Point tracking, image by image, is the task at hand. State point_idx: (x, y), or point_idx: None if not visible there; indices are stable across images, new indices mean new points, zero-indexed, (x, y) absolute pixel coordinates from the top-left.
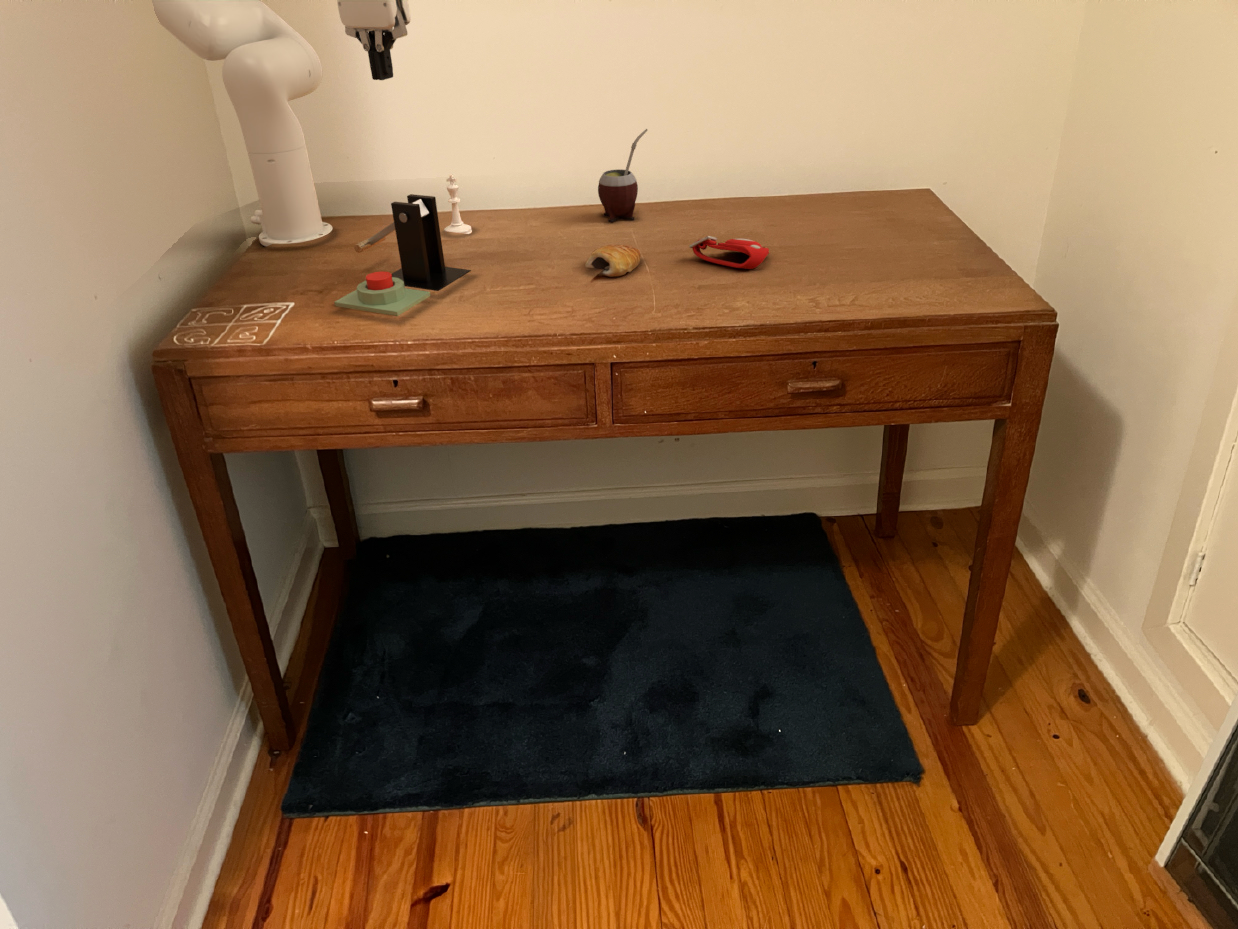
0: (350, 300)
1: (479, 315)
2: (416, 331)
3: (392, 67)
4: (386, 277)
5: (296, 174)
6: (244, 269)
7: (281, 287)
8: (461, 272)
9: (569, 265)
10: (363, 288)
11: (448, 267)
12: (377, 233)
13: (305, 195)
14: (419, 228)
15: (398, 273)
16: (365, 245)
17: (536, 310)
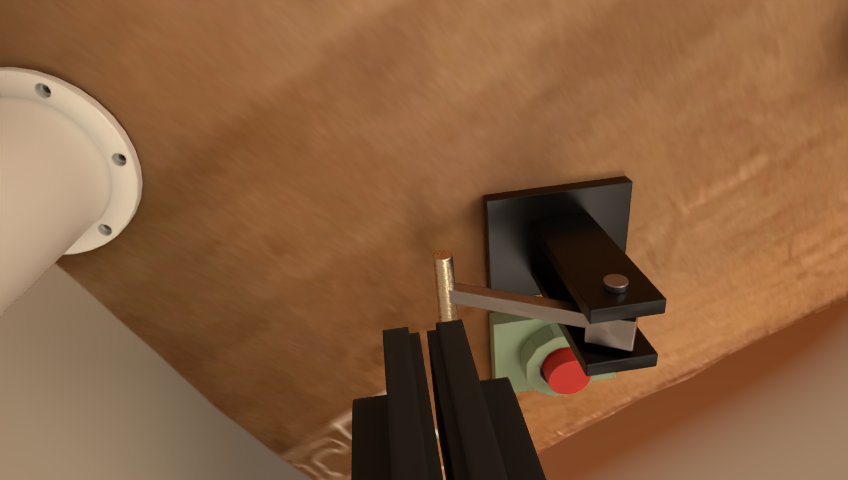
0: (518, 382)
1: (713, 294)
2: (646, 369)
3: (513, 391)
4: (588, 377)
5: (19, 265)
6: (164, 342)
7: (318, 361)
8: (620, 200)
9: (809, 17)
10: (547, 386)
11: (579, 191)
12: (483, 308)
13: (56, 216)
14: None
15: (502, 259)
16: (456, 313)
17: (799, 241)
